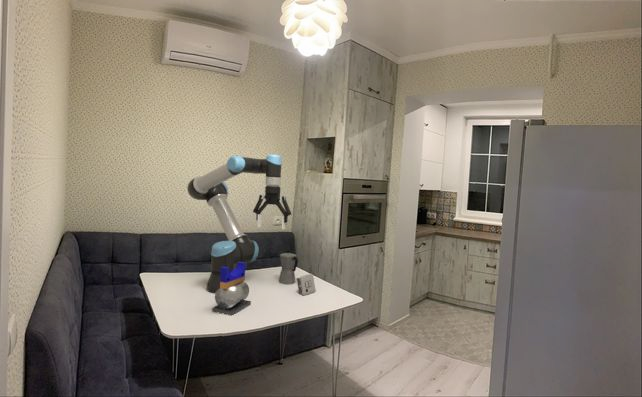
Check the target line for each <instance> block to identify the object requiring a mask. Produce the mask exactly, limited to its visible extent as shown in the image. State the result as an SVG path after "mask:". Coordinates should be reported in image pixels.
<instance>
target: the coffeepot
mask: <svg viewBox="0 0 642 397" xmlns="http://www.w3.org/2000/svg"><path fill="white" fill-rule="evenodd" d="M279 258H280V259H279V260H280V266H281V270H280V274H279V280H278V282H279V284H283V285H293V284H295V283H296V275H295V271H296V270H297V265H298V262H299V259H298V257H297V254H295V253H291V250H290V249H287V250H286V252H284V253H280V254H279Z"/></svg>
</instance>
